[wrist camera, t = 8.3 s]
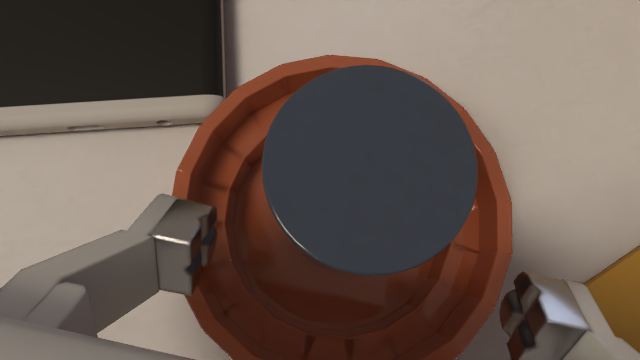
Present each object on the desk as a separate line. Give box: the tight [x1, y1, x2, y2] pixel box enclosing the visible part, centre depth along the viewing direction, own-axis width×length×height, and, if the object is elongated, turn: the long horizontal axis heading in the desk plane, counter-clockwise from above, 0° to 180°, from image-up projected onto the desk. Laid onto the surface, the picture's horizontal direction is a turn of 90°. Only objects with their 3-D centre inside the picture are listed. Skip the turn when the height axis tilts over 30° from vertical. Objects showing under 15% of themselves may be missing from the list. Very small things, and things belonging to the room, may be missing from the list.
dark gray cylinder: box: [262, 65, 478, 276], centre depth 13 cm, size 4×4×11 cm
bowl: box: [172, 55, 512, 360], centre depth 17 cm, size 13×13×4 cm
